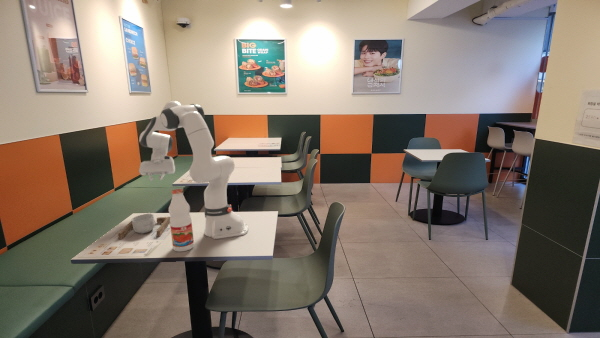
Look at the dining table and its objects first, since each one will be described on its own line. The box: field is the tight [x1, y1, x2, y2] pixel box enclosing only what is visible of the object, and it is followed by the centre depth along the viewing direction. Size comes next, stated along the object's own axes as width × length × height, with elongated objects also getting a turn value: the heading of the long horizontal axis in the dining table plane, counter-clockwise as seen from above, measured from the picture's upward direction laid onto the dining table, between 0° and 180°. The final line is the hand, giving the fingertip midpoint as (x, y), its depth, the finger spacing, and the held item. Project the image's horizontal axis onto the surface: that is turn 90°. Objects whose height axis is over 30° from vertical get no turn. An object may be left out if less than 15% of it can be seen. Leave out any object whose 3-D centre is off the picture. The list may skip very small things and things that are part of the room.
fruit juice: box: [168, 188, 195, 253], centre depth 152 cm, size 9×9×28 cm
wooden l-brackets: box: [117, 216, 171, 240], centre depth 177 cm, size 20×20×3 cm
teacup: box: [130, 212, 156, 234], centre depth 176 cm, size 14×11×8 cm
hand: (155, 179), depth 196 cm, fingers open, 4 cm apart
